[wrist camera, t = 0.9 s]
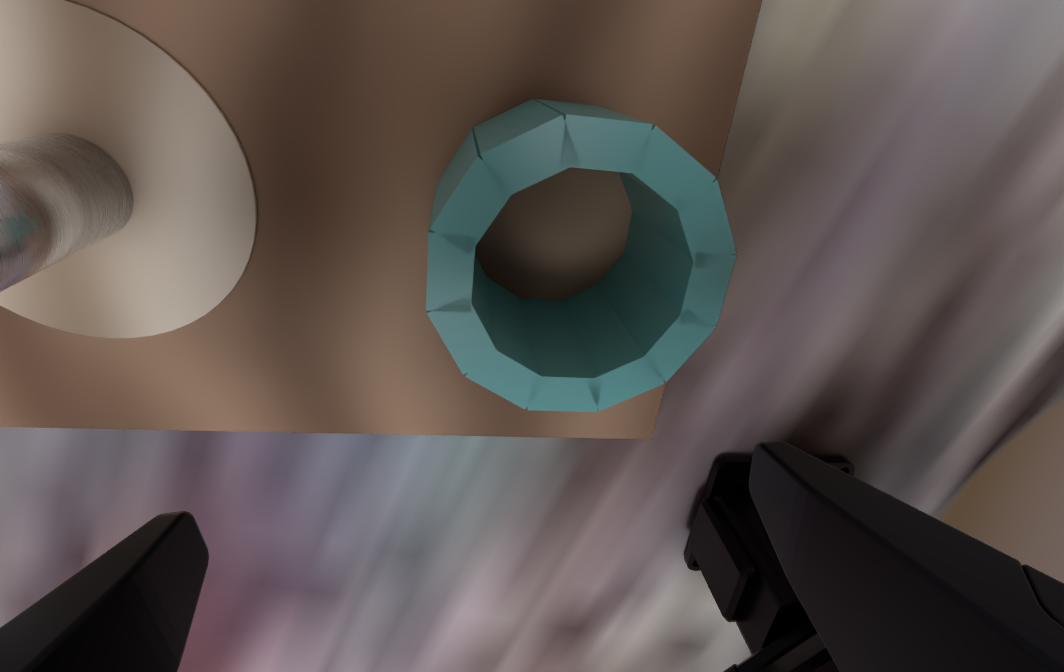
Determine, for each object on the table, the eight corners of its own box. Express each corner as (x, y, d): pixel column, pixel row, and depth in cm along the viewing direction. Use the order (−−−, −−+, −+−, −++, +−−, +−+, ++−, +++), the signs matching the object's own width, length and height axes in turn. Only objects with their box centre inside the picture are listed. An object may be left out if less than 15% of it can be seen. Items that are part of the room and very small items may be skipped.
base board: (750, -52, 16) (782, -64, 14) (640, 416, 23) (653, 442, 21) (-278, -228, 12) (-385, -271, 10) (-34, 399, 19) (-77, 429, 17)
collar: (684, 115, 16) (769, 137, 12) (636, 332, 19) (691, 414, 15) (440, 87, 15) (432, 98, 11) (431, 321, 18) (422, 407, 14)
